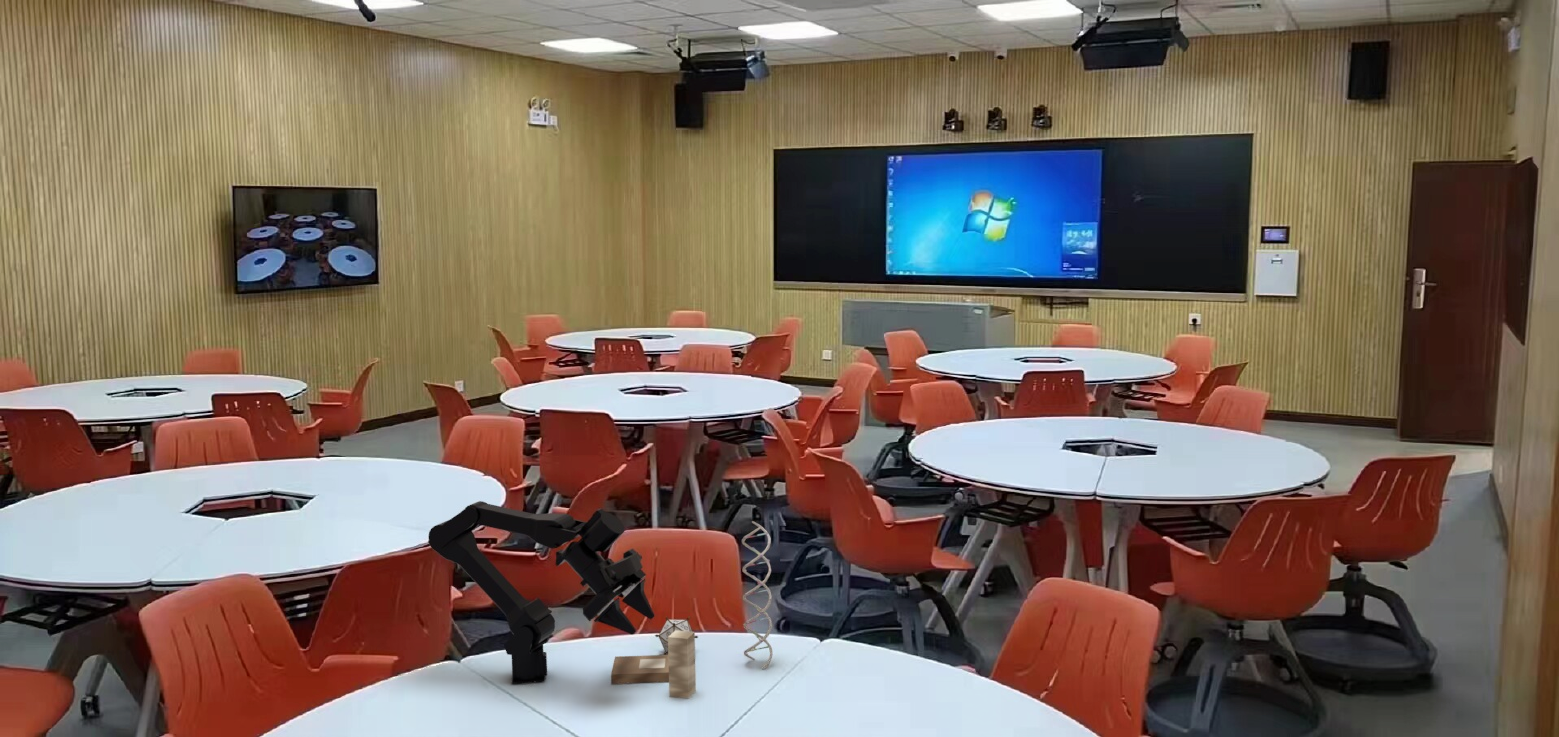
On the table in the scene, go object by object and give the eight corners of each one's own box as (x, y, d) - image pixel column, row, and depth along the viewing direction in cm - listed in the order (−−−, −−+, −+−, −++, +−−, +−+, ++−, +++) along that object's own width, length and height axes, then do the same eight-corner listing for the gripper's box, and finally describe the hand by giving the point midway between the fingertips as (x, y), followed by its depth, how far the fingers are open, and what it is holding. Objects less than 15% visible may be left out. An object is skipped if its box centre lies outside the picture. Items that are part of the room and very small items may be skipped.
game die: (684, 668, 252) (709, 628, 254) (677, 668, 244) (703, 627, 245) (650, 645, 254) (676, 605, 255) (642, 644, 246) (668, 603, 247)
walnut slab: (611, 683, 234) (611, 673, 234) (615, 665, 244) (615, 656, 243) (691, 680, 235) (691, 670, 234) (692, 663, 245) (691, 653, 244)
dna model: (739, 661, 245) (736, 521, 242) (768, 657, 247) (766, 519, 244) (747, 672, 239) (745, 529, 236) (777, 668, 241) (775, 526, 238)
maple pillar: (669, 696, 227) (667, 636, 226) (676, 688, 231) (675, 630, 229) (688, 698, 226) (687, 638, 225) (695, 690, 230) (694, 631, 228)
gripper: (595, 552, 219) (651, 614, 218) (635, 528, 237) (687, 585, 235) (559, 590, 223) (614, 651, 221) (601, 563, 240) (652, 619, 238)
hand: (643, 625), depth 229 cm, fingers open, 9 cm apart
